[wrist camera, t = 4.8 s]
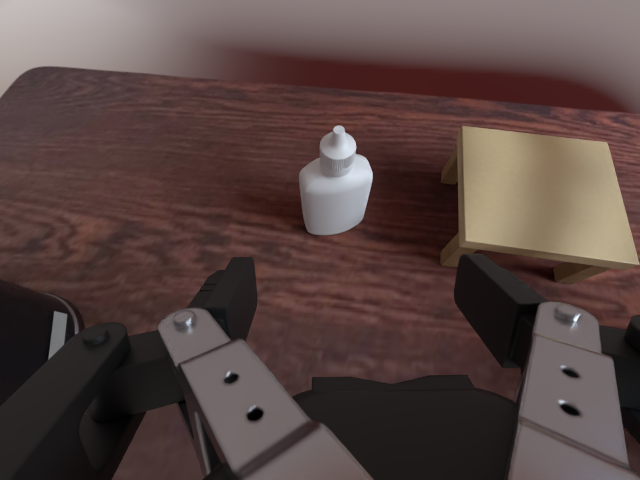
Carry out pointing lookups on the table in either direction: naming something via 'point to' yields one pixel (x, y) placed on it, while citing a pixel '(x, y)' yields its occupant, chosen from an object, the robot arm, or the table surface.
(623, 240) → the stand
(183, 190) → the table surface
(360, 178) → the eye dropper bottle
